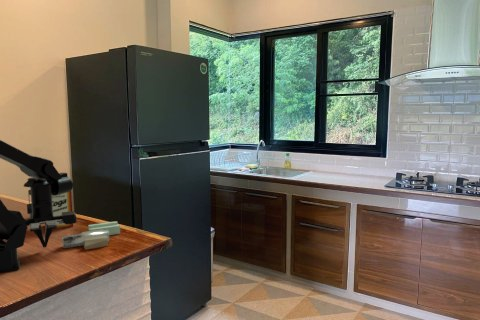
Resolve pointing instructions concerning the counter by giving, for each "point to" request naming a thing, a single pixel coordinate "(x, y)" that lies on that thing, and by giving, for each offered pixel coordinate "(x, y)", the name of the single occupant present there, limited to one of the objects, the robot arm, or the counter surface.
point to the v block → (106, 227)
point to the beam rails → (95, 241)
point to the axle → (81, 238)
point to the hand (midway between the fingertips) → (44, 247)
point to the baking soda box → (62, 207)
